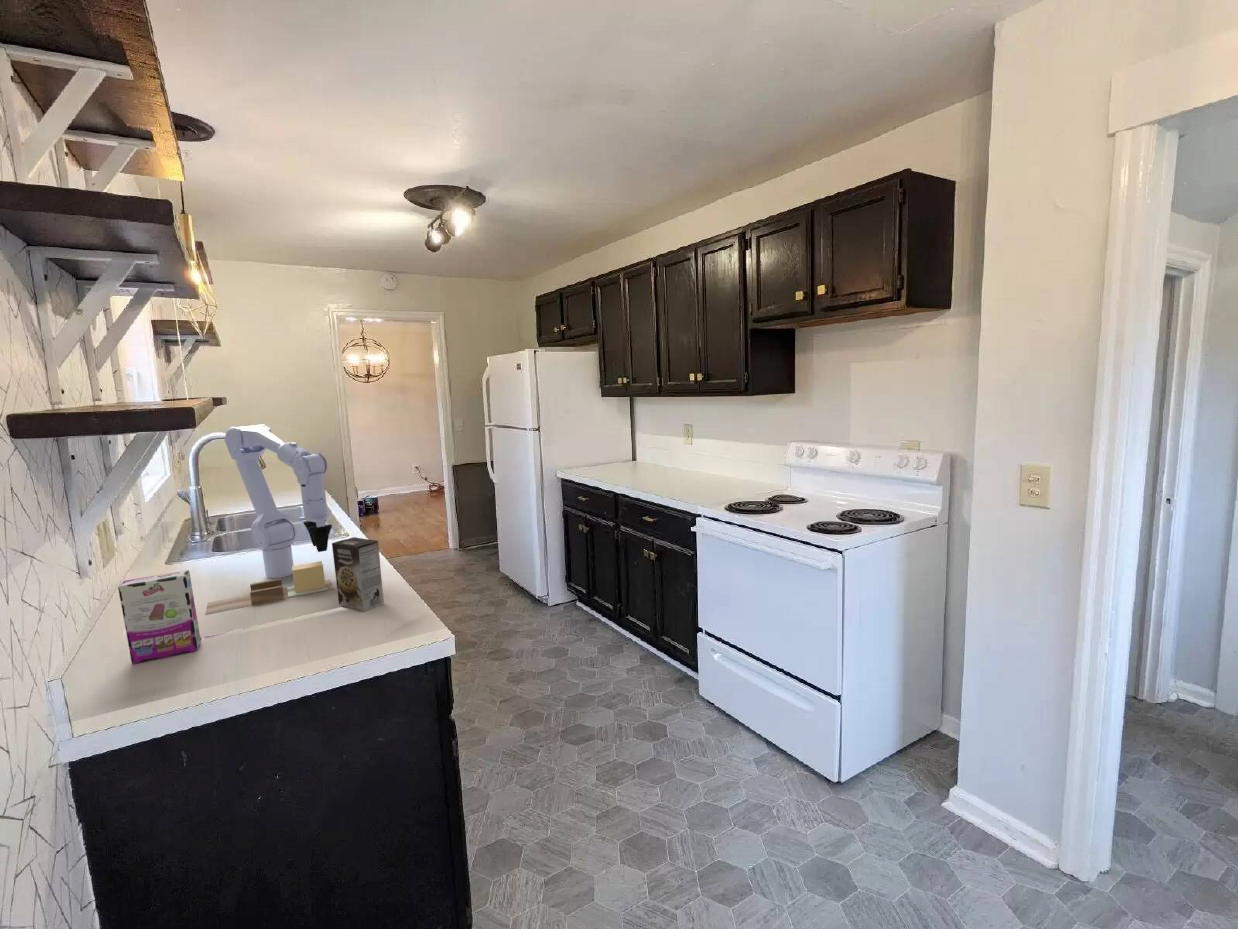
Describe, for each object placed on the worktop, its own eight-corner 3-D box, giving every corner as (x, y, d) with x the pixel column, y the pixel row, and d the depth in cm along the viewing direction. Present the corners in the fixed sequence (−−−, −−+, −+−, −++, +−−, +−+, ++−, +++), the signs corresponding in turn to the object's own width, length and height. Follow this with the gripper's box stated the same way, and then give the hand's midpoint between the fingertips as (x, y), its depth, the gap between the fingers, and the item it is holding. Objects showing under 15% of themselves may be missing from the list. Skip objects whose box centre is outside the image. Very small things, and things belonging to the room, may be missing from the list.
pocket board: (208, 605, 151) (206, 591, 151) (330, 582, 166) (328, 568, 165) (205, 618, 143) (203, 602, 142) (334, 592, 157) (332, 578, 157)
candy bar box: (201, 642, 129) (190, 569, 126) (198, 651, 124) (186, 575, 122) (136, 655, 124) (123, 579, 121) (130, 665, 119) (117, 586, 117)
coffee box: (337, 607, 146) (330, 543, 144) (360, 598, 152) (353, 536, 149) (363, 612, 142) (356, 546, 140) (385, 603, 147) (378, 539, 145)
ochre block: (294, 588, 159) (291, 566, 158) (323, 582, 162) (321, 561, 161) (295, 593, 155) (292, 570, 154) (325, 587, 158) (322, 565, 158)
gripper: (293, 497, 165) (299, 545, 167) (301, 505, 153) (307, 557, 155) (322, 494, 169) (327, 540, 171) (331, 501, 157) (337, 551, 159)
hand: (320, 548), depth 164 cm, fingers open, 7 cm apart
